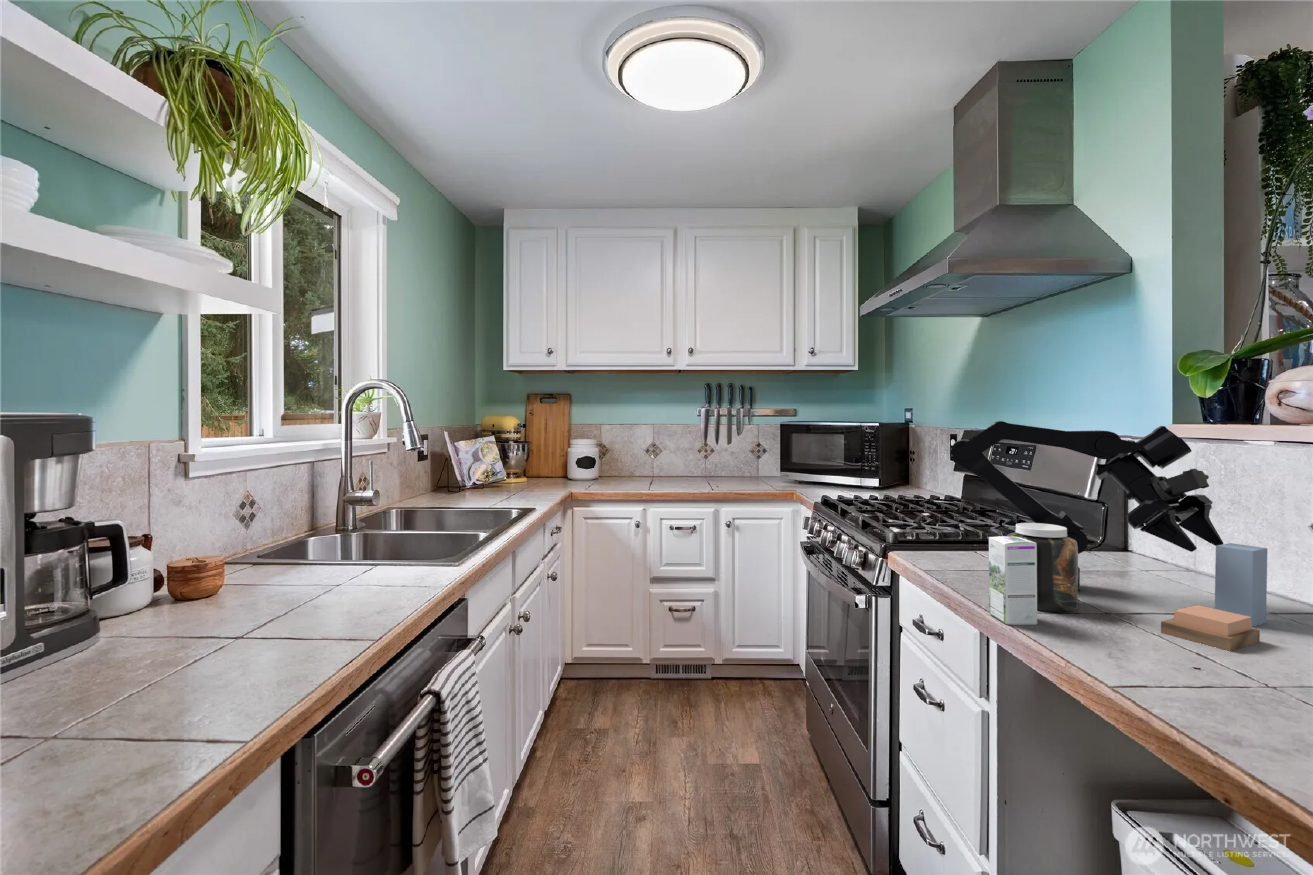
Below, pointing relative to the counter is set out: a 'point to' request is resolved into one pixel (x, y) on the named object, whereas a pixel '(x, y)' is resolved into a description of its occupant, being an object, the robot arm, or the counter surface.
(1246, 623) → the terracotta block
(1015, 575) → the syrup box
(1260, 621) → the slate blue block
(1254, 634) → the walnut block
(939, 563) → the counter surface
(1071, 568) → the jar
